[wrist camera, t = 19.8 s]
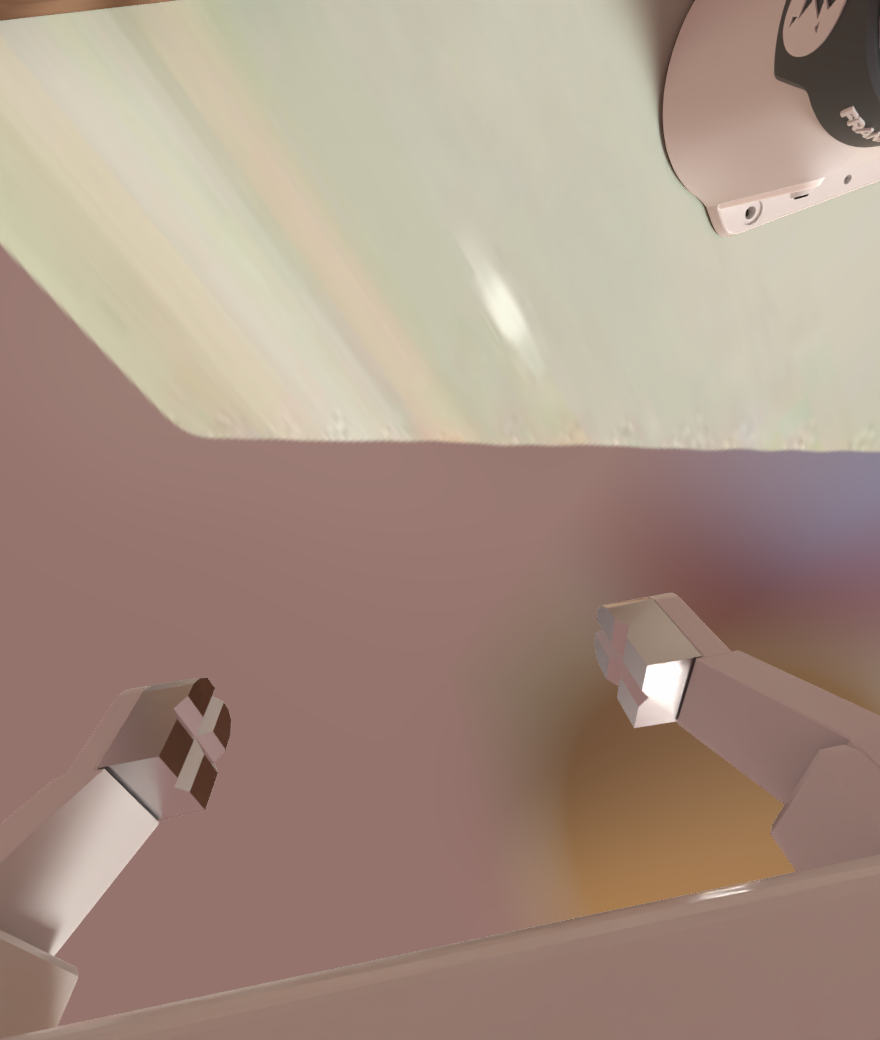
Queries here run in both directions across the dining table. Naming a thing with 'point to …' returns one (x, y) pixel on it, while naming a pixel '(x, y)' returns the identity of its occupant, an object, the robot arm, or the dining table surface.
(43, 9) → the holder block
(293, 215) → the dining table surface
